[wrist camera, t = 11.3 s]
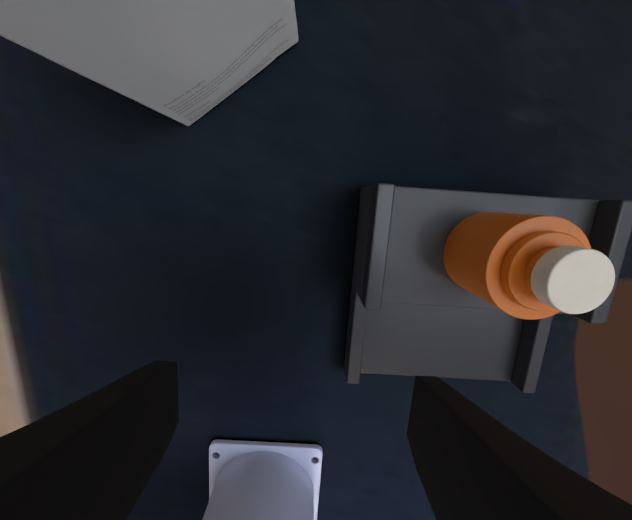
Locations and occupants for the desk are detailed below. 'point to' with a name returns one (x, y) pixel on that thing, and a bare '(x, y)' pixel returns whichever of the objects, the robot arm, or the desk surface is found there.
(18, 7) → the cosmetic box
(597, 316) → the rack
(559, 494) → the robot arm
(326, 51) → the desk surface
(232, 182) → the desk surface
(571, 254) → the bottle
